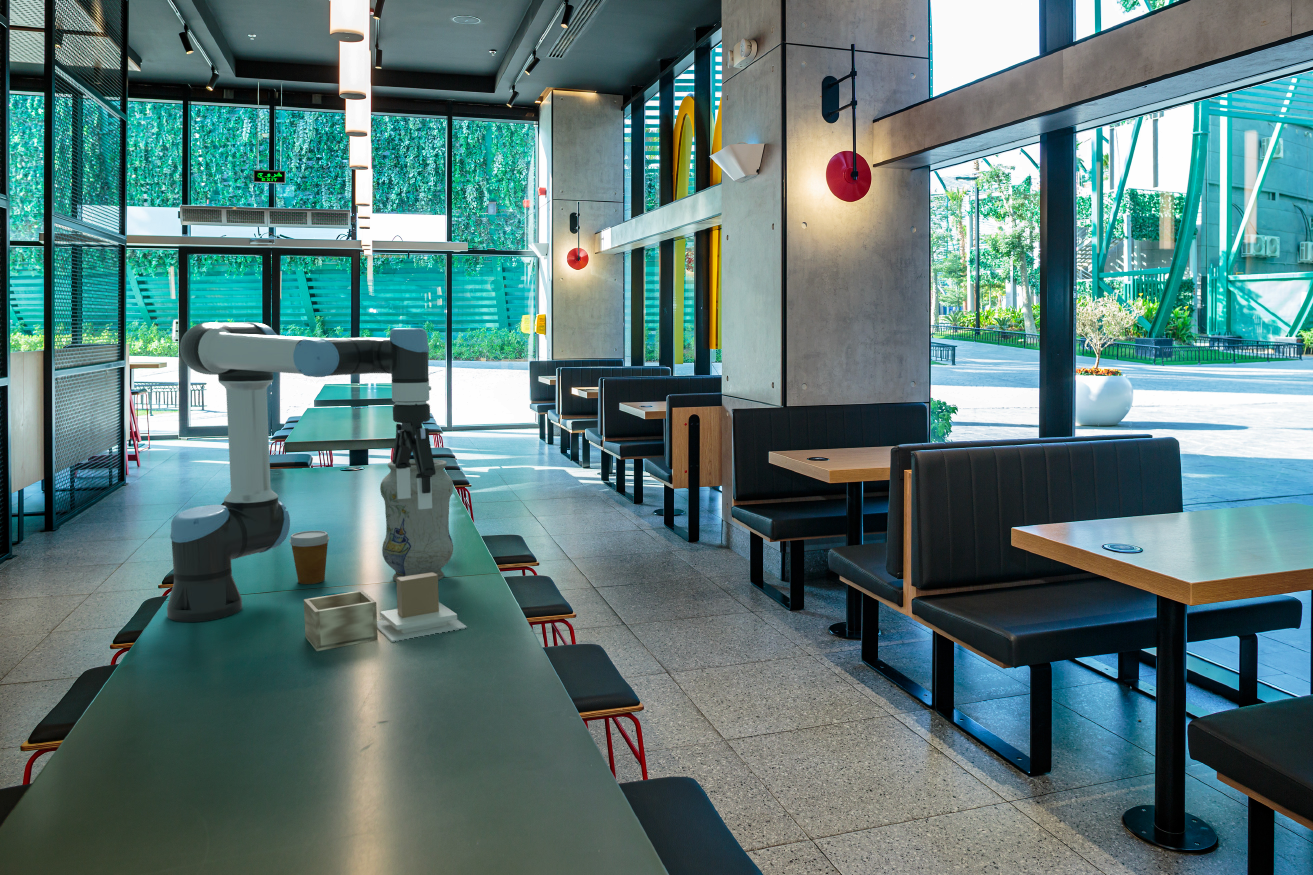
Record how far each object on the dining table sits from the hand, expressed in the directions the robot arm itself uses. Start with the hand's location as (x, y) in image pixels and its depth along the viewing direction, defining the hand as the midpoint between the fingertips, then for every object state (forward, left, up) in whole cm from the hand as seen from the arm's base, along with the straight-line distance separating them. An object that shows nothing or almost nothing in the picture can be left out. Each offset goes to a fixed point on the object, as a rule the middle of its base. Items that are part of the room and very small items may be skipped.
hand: (414, 503), depth 194 cm
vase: (+13, +38, -27) cm, 48 cm away
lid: (0, 0, -26) cm, 26 cm away
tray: (0, 0, -27) cm, 27 cm away
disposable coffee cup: (-11, +50, -27) cm, 58 cm away
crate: (-16, +1, -27) cm, 31 cm away
